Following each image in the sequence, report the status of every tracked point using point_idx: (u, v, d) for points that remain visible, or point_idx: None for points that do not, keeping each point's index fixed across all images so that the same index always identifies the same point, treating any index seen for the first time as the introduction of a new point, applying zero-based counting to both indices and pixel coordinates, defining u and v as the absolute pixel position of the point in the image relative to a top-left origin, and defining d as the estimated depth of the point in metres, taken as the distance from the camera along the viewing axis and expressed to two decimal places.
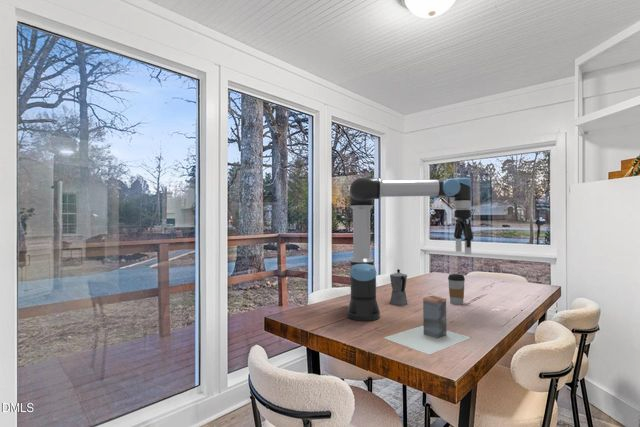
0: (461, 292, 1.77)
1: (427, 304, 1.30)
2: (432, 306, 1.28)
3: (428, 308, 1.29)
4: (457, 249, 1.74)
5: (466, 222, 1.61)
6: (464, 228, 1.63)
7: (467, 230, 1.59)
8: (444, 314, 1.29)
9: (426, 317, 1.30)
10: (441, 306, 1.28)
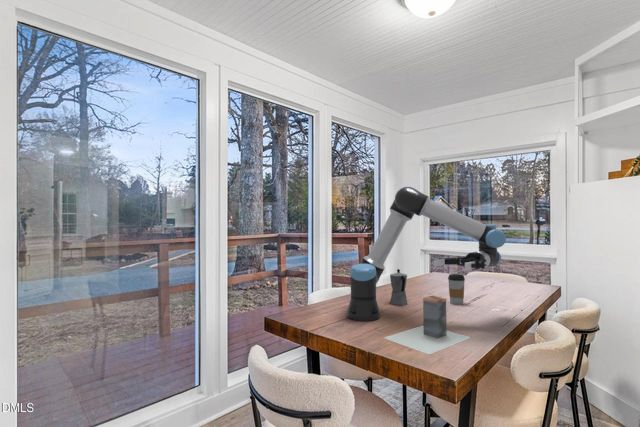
0: (461, 292, 1.77)
1: (427, 304, 1.30)
2: (432, 306, 1.28)
3: (428, 308, 1.29)
4: (437, 261, 1.43)
5: (485, 261, 1.41)
6: None
7: (484, 262, 1.38)
8: (444, 314, 1.29)
9: (426, 317, 1.30)
10: (441, 306, 1.28)
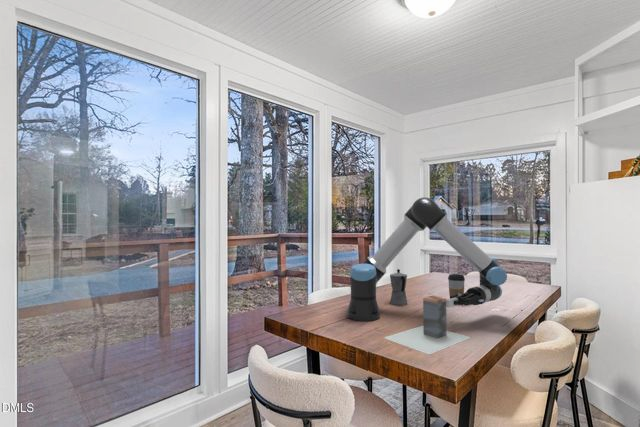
0: (461, 292, 1.77)
1: (427, 304, 1.30)
2: (432, 306, 1.28)
3: (428, 308, 1.29)
4: None
5: (480, 299, 1.40)
6: (469, 298, 1.42)
7: (472, 299, 1.39)
8: (444, 314, 1.29)
9: (426, 317, 1.30)
10: (441, 306, 1.28)
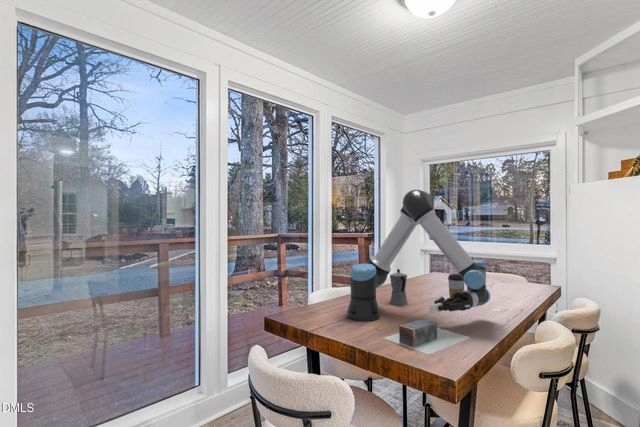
0: None
1: None
2: None
3: None
4: None
5: (466, 304, 1.33)
6: (454, 303, 1.35)
7: (458, 305, 1.31)
8: (423, 330, 1.21)
9: None
10: (417, 337, 1.19)
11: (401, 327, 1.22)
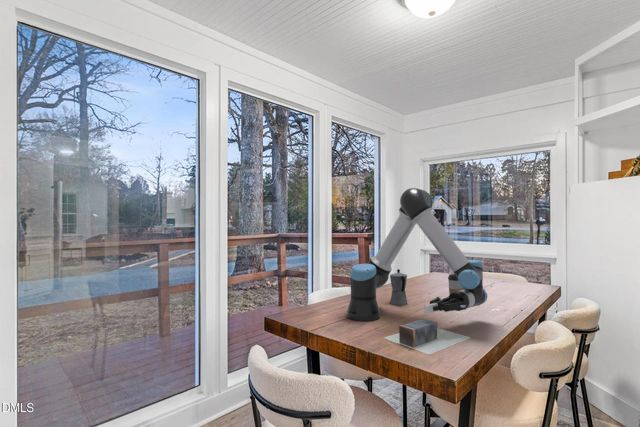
0: None
1: None
2: None
3: None
4: None
5: (462, 304, 1.32)
6: (450, 303, 1.33)
7: (453, 305, 1.30)
8: (423, 330, 1.21)
9: None
10: (417, 337, 1.19)
11: (401, 327, 1.22)
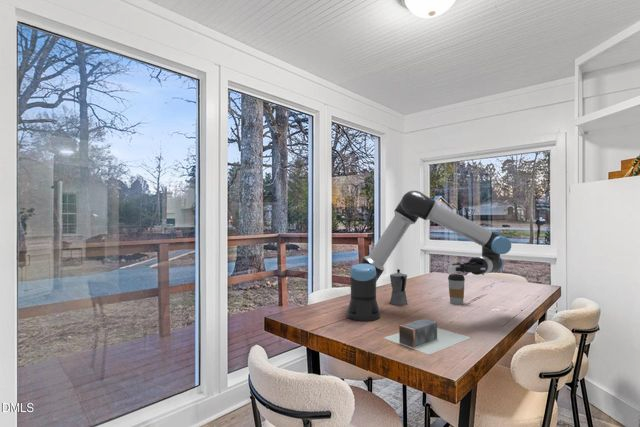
0: (461, 292, 1.77)
1: None
2: None
3: None
4: None
5: (482, 267, 1.43)
6: (471, 266, 1.45)
7: (474, 267, 1.41)
8: (423, 330, 1.21)
9: None
10: (417, 337, 1.19)
11: (401, 327, 1.22)
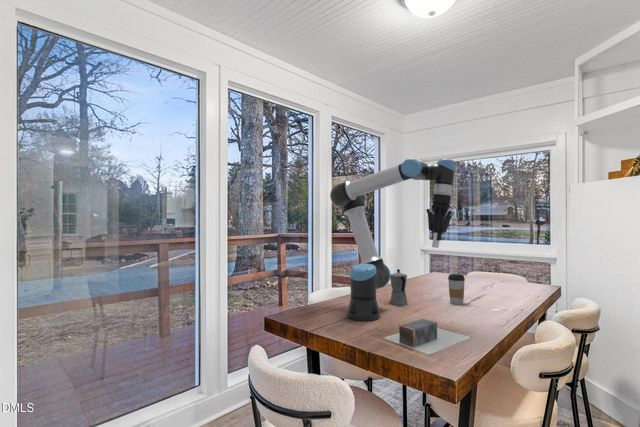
0: (461, 292, 1.77)
1: None
2: None
3: None
4: None
5: (450, 214, 1.46)
6: (441, 218, 1.49)
7: (446, 223, 1.47)
8: (423, 330, 1.21)
9: None
10: (417, 337, 1.19)
11: (401, 327, 1.22)
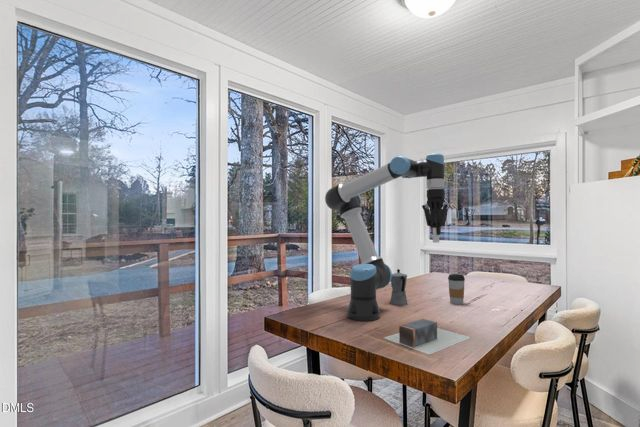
0: (461, 292, 1.77)
1: None
2: None
3: None
4: None
5: (446, 208, 1.47)
6: (438, 212, 1.50)
7: (444, 217, 1.48)
8: (423, 330, 1.21)
9: None
10: (417, 337, 1.19)
11: (401, 327, 1.22)
